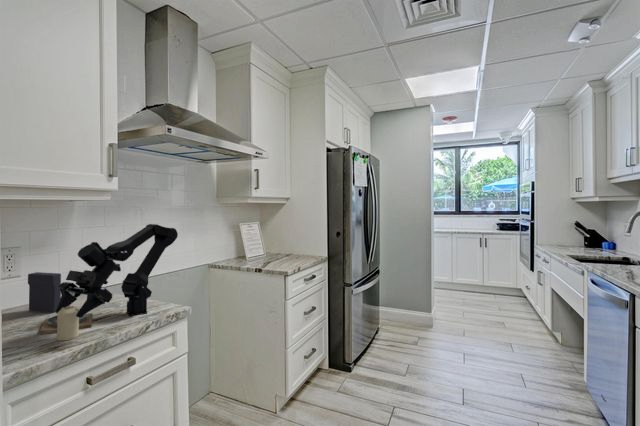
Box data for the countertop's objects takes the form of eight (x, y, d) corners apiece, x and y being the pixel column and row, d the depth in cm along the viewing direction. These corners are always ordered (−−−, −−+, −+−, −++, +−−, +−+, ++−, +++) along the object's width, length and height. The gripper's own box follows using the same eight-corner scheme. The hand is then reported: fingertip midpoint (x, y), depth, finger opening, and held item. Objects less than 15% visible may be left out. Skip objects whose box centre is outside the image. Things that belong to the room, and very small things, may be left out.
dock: (92, 315, 127) (92, 309, 127) (91, 327, 115) (91, 320, 115) (45, 321, 119) (45, 314, 119) (39, 334, 108) (39, 327, 108)
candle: (56, 342, 102) (57, 310, 102) (57, 336, 107) (58, 305, 107) (78, 338, 106) (78, 307, 106) (78, 332, 110) (79, 303, 110)
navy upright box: (62, 310, 132) (62, 273, 132) (52, 313, 128) (53, 275, 128) (37, 308, 134) (38, 271, 133) (27, 311, 129) (27, 273, 129)
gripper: (64, 258, 113) (27, 298, 103) (105, 263, 108) (69, 305, 97) (86, 277, 121) (53, 315, 111) (125, 282, 115) (94, 323, 105)
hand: (66, 314), depth 106 cm, fingers open, 9 cm apart
